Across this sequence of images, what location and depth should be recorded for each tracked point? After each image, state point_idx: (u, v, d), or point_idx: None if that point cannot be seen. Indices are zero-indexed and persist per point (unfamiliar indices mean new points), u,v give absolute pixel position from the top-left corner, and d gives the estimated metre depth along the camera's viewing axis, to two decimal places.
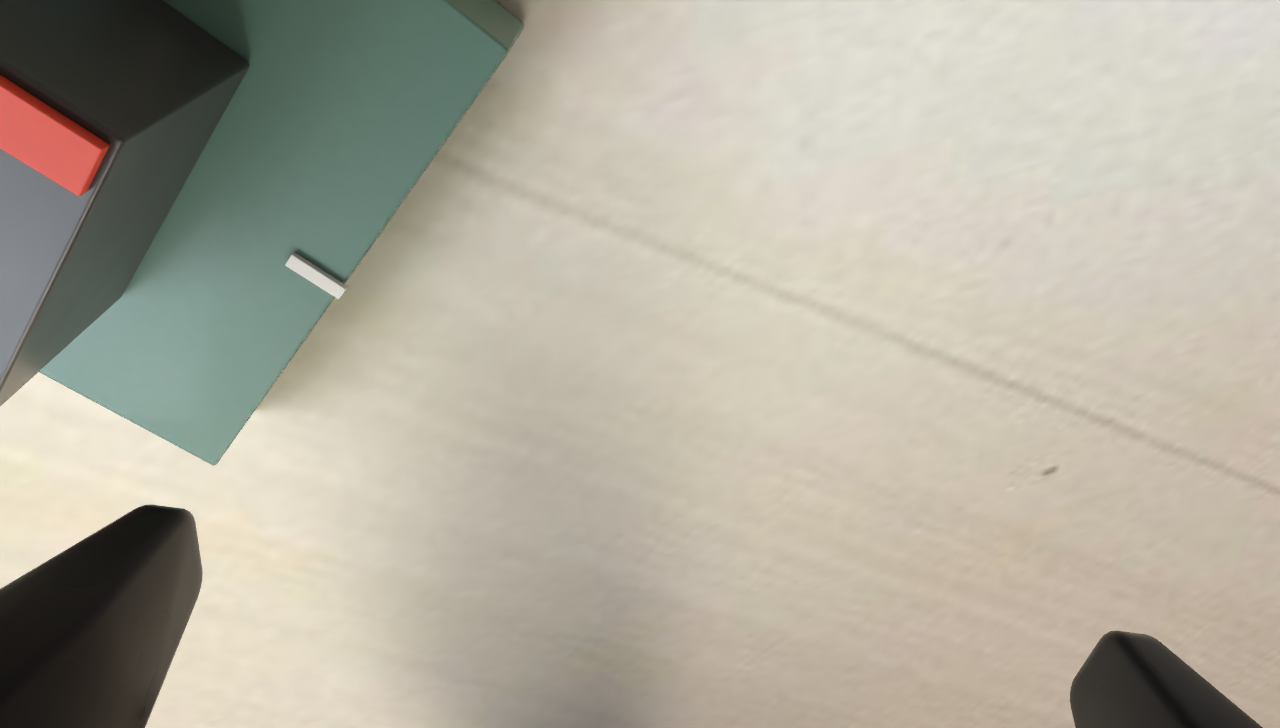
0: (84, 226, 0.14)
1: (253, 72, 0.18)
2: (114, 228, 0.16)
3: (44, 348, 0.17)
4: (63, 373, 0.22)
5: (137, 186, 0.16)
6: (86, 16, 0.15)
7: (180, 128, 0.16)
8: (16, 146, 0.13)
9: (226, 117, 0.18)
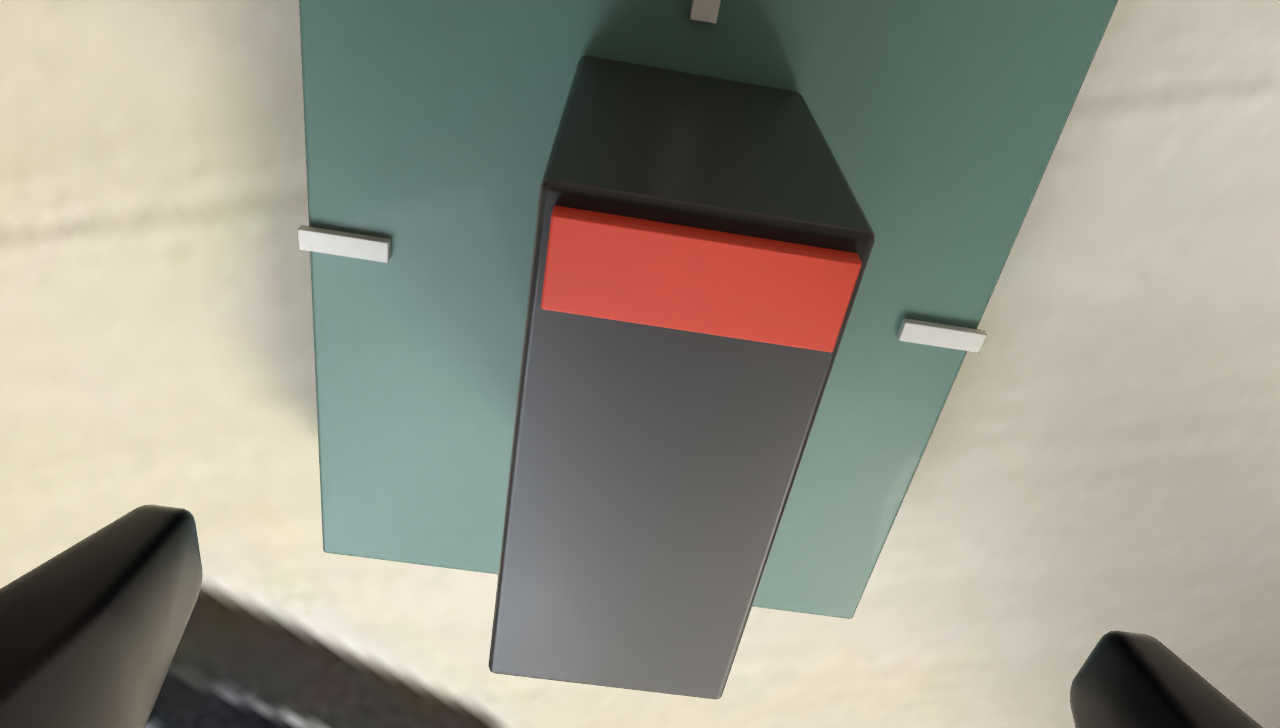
0: (821, 394, 0.09)
1: None
2: None
3: None
4: None
5: None
6: (659, 115, 0.10)
7: None
8: (735, 320, 0.08)
9: None
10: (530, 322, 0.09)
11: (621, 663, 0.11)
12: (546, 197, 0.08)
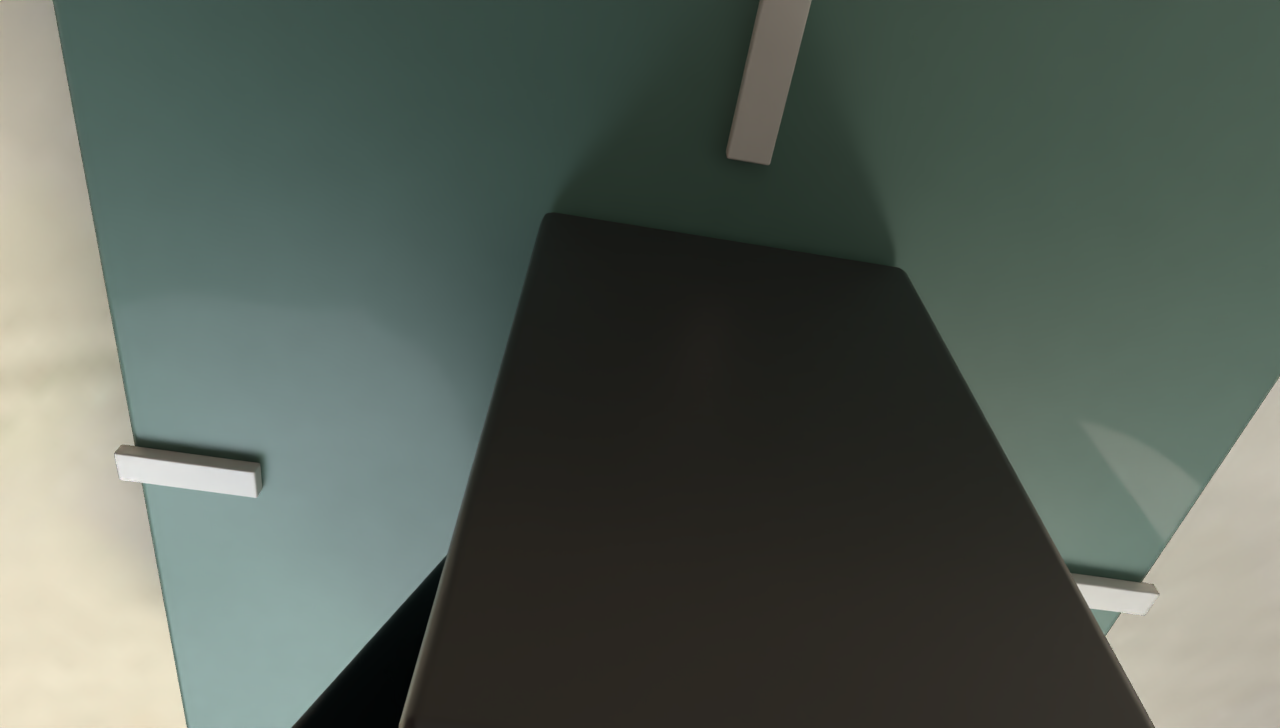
0: None
1: None
2: None
3: None
4: None
5: None
6: (679, 379, 0.05)
7: None
8: None
9: None
10: None
11: None
12: None
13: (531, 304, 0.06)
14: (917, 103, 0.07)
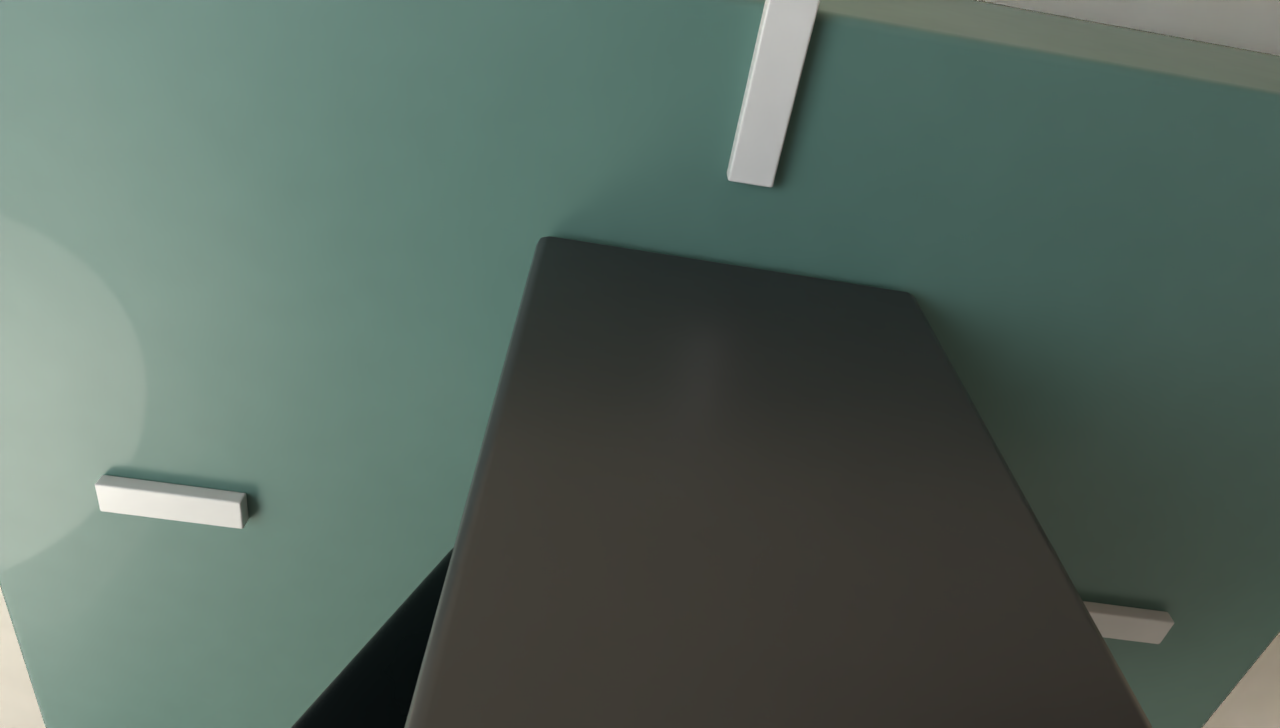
0: None
1: None
2: None
3: None
4: (27, 566, 0.09)
5: None
6: (681, 417, 0.05)
7: None
8: None
9: None
10: None
11: None
12: None
13: (525, 337, 0.06)
14: None
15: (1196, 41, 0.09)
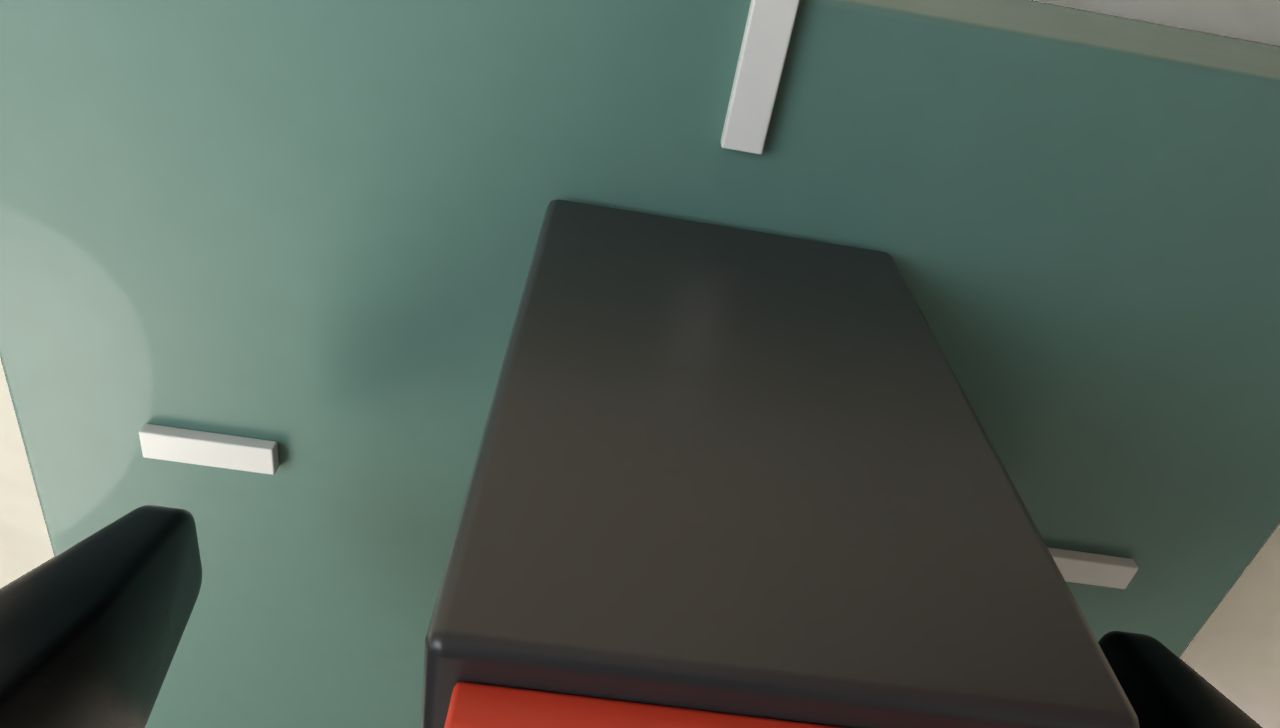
0: None
1: None
2: None
3: None
4: (73, 511, 0.10)
5: None
6: (677, 350, 0.06)
7: None
8: None
9: None
10: None
11: None
12: (438, 664, 0.04)
13: (539, 282, 0.06)
14: None
15: (1159, 25, 0.09)
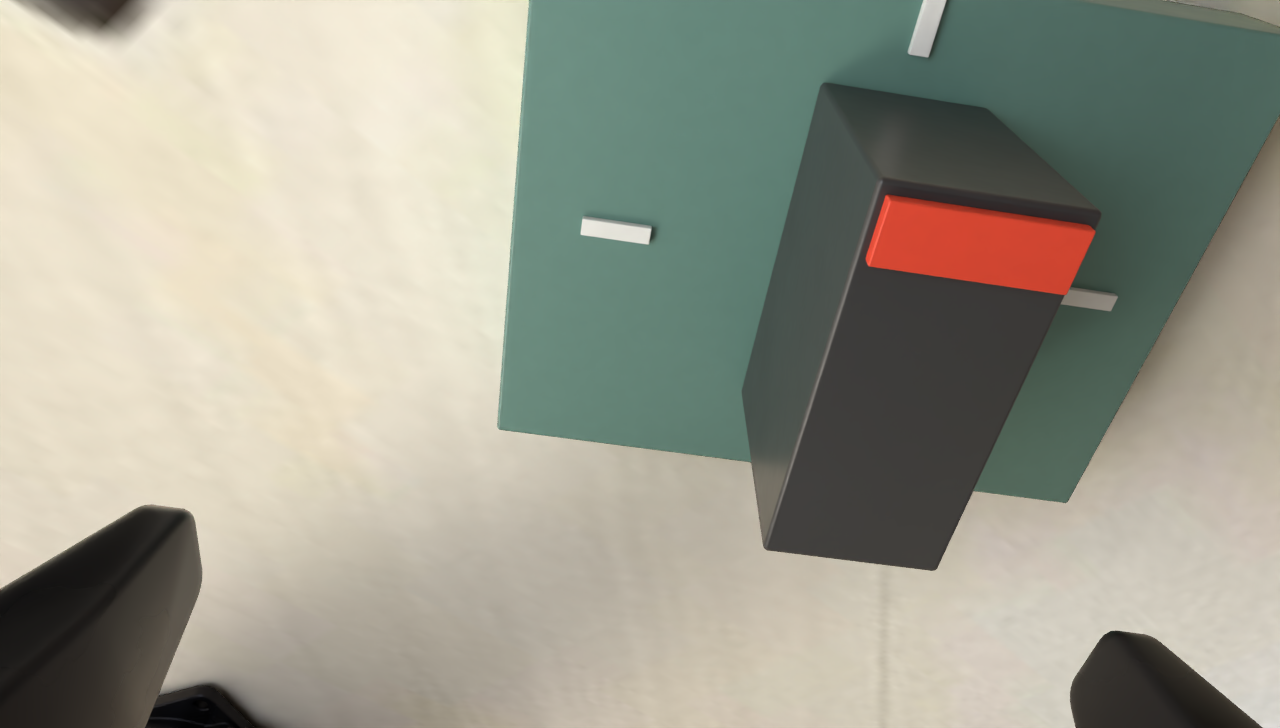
0: (1046, 327, 0.13)
1: None
2: None
3: None
4: (527, 272, 0.18)
5: None
6: (911, 129, 0.14)
7: None
8: (1002, 272, 0.12)
9: None
10: (851, 277, 0.12)
11: (866, 540, 0.15)
12: (880, 189, 0.12)
13: (843, 108, 0.14)
14: (1053, 346, 0.19)
15: None
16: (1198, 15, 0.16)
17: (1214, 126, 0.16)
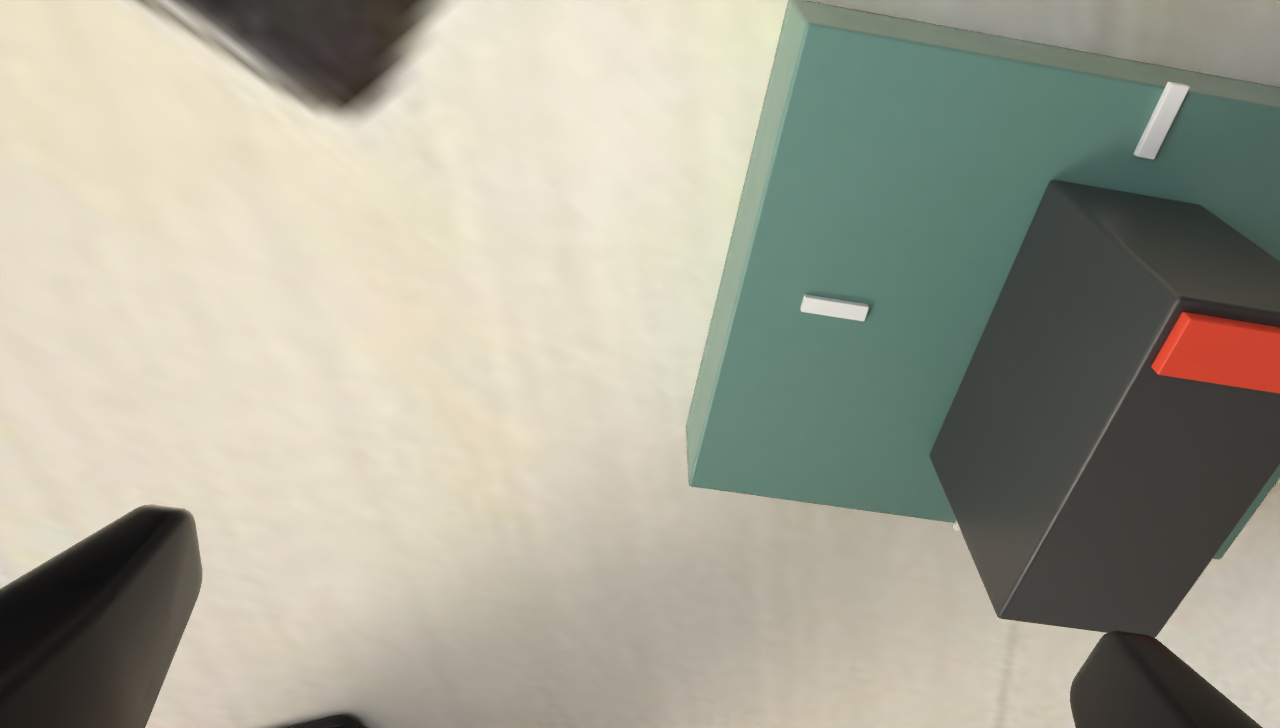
0: None
1: None
2: None
3: None
4: (743, 344, 0.19)
5: None
6: (1162, 236, 0.15)
7: None
8: None
9: None
10: (1134, 381, 0.14)
11: (1096, 611, 0.16)
12: (1177, 306, 0.13)
13: (1091, 212, 0.16)
14: None
15: None
16: None
17: None
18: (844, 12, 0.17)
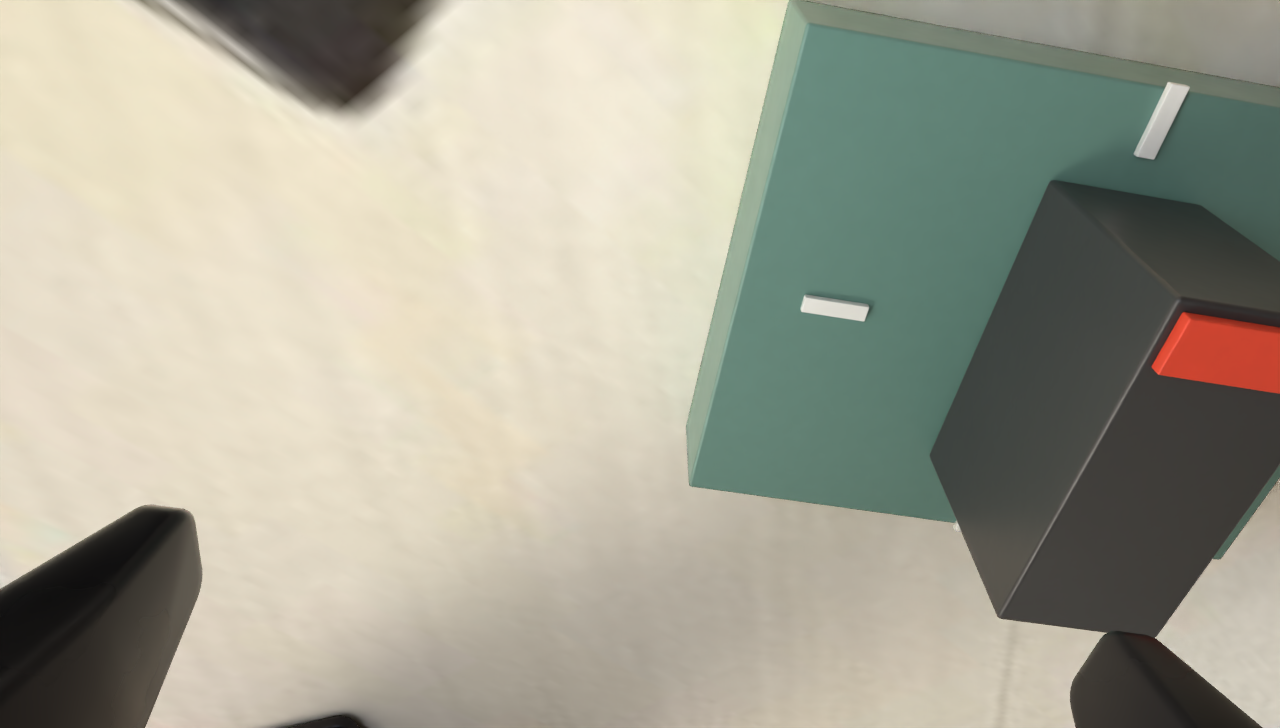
0: None
1: None
2: None
3: None
4: (743, 344, 0.19)
5: None
6: (1162, 236, 0.15)
7: None
8: (1279, 382, 0.13)
9: None
10: (1134, 381, 0.14)
11: (1096, 611, 0.16)
12: (1177, 307, 0.13)
13: (1091, 212, 0.16)
14: None
15: None
16: None
17: None
18: (844, 12, 0.17)
